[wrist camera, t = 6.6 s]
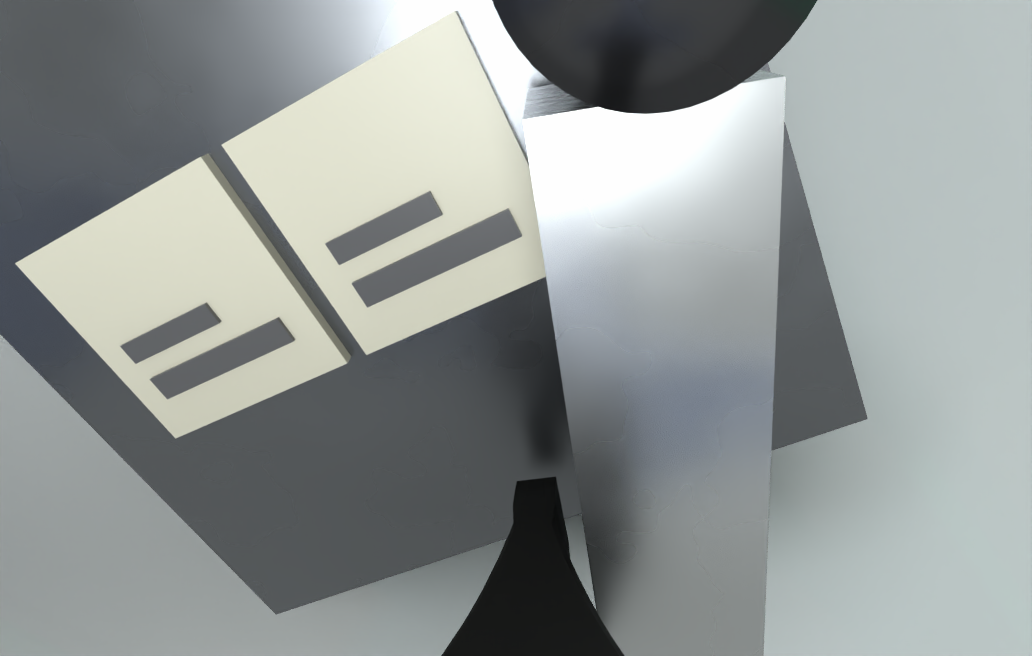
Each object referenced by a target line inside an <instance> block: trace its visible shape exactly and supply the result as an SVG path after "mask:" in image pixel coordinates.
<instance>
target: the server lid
mask: <svg viewBox="0 0 1032 656" xmlns="http://www.w3.org/2000/svg"><path fill="white" fill-rule="evenodd" d="M453 11H458V13H459V16H460V18H461V20H462V22H463V24H464V26H465V28H466V30H467V32H468V35H469V37H470V39H471V41H472V43H473V45H474V47H475V49H476V51H477V54H478V56H479V58H480V60H481V62H482V64H483V66H484V68H485V70H486V73H487V75H488V77H489V79H490V81H491V83H492V85H493V87H494V89H495V91H496V94H497V96H498V98H499V100H500V102H501V104H502V106H503V108H504V110H505V113H506V115H507V117H508V119H509V121H510V123H511V125H512V127H513V129H514V132H515V134H516V136H517V138H518V140H519V142H520V144H521V146H522V148H523V150H524V153H525V155H526V157H527V159H528V154H527V147H526V140H525V134H524V127H523V121H522V119H523V114H524V108H525V102H526V97H527V91H528V89H529V88H535V87H541V86H547V85H552V84H553V83H551V82H550V81H548V80H547V79H546V78H545V77H544V76H543V75H542V74H541V73H540V72H539V71H537V70H536V69H535V68H534V67H533V66H532V65H531V64H530V62H529V61H528V60H527V59H526V58H525V56H524V55H523V54H522V53H521V52H520V51H519V49H518V48H517V46H516V45H515V43H514V42H513V40H512V39H511V37H510V36H509V34H508V33H507V31H506V29H505V28H504V26H503V23H502V21H501V19H500V17H499V15H498V13H497V11H496V9H495V7H494V4H493V1H492V0H0V334H1V335H2V336H3V337H4V338H5V339H6V340H7V341H8V342H9V343H10V344H11V345H12V346H13V347H14V349H15V350H16V351H17V352H18V353H19V354H20V355H21V356H22V357H23V358H24V359H25V360H26V361H27V362H28V363H29V364H30V365H31V366H32V367H33V368H34V369H35V370H36V371H37V372H38V373H39V374H40V375H41V376H42V377H43V378H44V379H45V380H46V381H47V382H48V383H49V384H50V385H51V386H52V387H53V388H54V389H55V390H56V391H57V392H58V393H59V394H60V395H61V396H62V397H63V398H64V399H65V400H66V401H67V402H68V403H69V404H70V405H71V406H72V407H73V408H74V410H75V411H76V412H77V413H78V414H79V415H80V416H81V417H82V418H83V419H84V420H85V421H86V422H87V423H88V424H89V425H90V426H91V427H92V428H93V429H94V430H95V431H96V432H97V433H98V434H99V435H100V436H101V437H102V438H103V439H104V440H105V441H106V442H107V443H108V444H109V445H110V446H111V447H112V448H113V449H114V450H115V451H116V452H117V453H118V454H119V455H120V456H121V457H122V458H123V459H124V460H125V461H126V462H127V463H128V464H129V465H130V466H131V467H132V468H133V469H134V470H135V472H136V473H137V474H138V475H139V476H140V477H141V478H142V479H143V480H144V481H145V482H146V483H147V484H148V485H149V486H150V487H151V488H152V489H153V490H154V491H155V492H156V493H157V494H158V495H159V496H160V497H161V498H162V499H163V500H164V501H165V502H166V503H167V504H168V505H169V506H170V507H171V508H172V509H173V510H174V511H175V512H176V513H177V514H178V515H179V516H180V517H181V518H182V519H183V520H184V521H185V522H186V523H187V524H188V525H189V526H190V527H191V528H192V529H193V530H194V531H195V533H196V534H197V535H198V536H199V537H200V538H201V539H202V540H203V541H204V542H205V543H206V544H207V545H208V546H209V547H210V548H211V549H212V550H213V551H214V552H215V553H216V554H217V555H218V556H219V557H220V558H221V559H222V560H223V561H224V562H225V563H226V564H227V565H228V566H229V567H230V568H231V569H232V570H233V571H234V572H235V573H236V574H237V575H238V576H239V577H240V578H241V579H242V580H243V581H244V582H245V583H246V584H247V585H248V586H249V587H250V588H251V589H252V590H253V591H254V592H255V594H256V595H257V596H258V597H259V598H260V599H261V600H262V601H263V602H264V603H265V604H266V605H267V606H268V607H269V608H270V609H271V610H272V611H273V612H274V613H275V614H279V613H282V612H285V611H288V610H291V609H294V608H297V607H300V606H303V605H306V604H309V603H312V602H315V601H318V600H321V599H324V598H327V597H330V596H333V595H336V594H339V593H342V592H345V591H348V590H351V589H354V588H357V587H360V586H363V585H367V584H370V583H373V582H376V581H379V580H382V579H385V578H388V577H391V576H394V575H397V574H400V573H403V572H406V571H409V570H412V569H415V568H418V567H421V566H424V565H427V564H430V563H433V562H436V561H439V560H442V559H445V558H448V557H451V556H454V555H457V554H460V553H463V552H466V551H469V550H472V549H475V548H478V547H481V546H484V545H487V544H491V543H494V542H497V541H500V540H503V539H506V538H507V537H508V535H509V532H510V530H511V528H512V525H513V500H514V493H515V487H516V482H517V481H522V480H530V479H539V478H547V477H556V480H557V485H558V490H559V495H560V500H561V505H562V511H563V516H564V519H566V518H569V517H572V516H575V515H578V514H581V513H582V511H581V504H580V498H579V491H578V484H577V478H576V471H575V465H574V458H573V451H572V445H571V438H570V432H569V425H568V418H567V412H566V405H565V398H564V392H563V385H562V379H561V372H560V365H559V359H558V352H557V346H556V339H555V332H554V326H553V319H552V312H551V306H550V299H549V293H548V286H547V279H546V277H544V278H542V279H539V280H537V281H535V282H532V283H530V284H528V285H526V286H523V287H521V288H519V289H516V290H514V291H512V292H510V293H507V294H505V295H503V296H500V297H498V298H496V299H494V300H491V301H489V302H487V303H484V304H482V305H480V306H478V307H475V308H473V309H471V310H468V311H466V312H464V313H462V314H459V315H457V316H455V317H452V318H450V319H448V320H446V321H443V322H441V323H439V324H436V325H434V326H432V327H430V328H427V329H425V330H423V331H420V332H418V333H416V334H414V335H411V336H409V337H407V338H404V339H402V340H400V341H398V342H395V343H393V344H391V345H388V346H386V347H384V348H382V349H379V350H377V351H375V352H372V353H370V354H368V355H366V354H365V352H364V351H363V349H362V348H361V347H360V345H359V344H358V342H357V341H356V339H355V338H354V336H353V335H352V333H351V332H350V331H349V329H348V328H347V326H346V325H345V323H344V322H343V320H342V319H341V318H340V316H339V315H338V313H337V312H336V310H335V309H334V307H333V306H332V305H331V303H330V302H329V300H328V299H327V297H326V296H325V294H324V293H323V291H322V290H321V289H320V287H319V286H318V284H317V283H316V281H315V280H314V278H313V277H312V276H311V274H310V273H309V271H308V270H307V268H306V267H305V265H304V264H303V263H302V261H301V260H300V258H299V257H298V255H297V254H296V252H295V251H294V249H293V248H292V247H291V245H290V244H289V242H288V241H287V239H286V238H285V236H284V235H283V234H282V232H281V231H280V229H279V228H278V226H277V225H276V223H275V222H274V220H273V219H272V218H271V216H270V215H269V213H268V212H267V210H266V209H265V207H264V206H263V205H262V203H261V202H260V200H259V199H258V197H257V196H256V194H255V193H254V192H253V190H252V189H251V187H250V186H249V184H248V183H247V181H246V180H245V178H244V177H243V176H242V174H241V173H240V171H239V170H238V168H237V167H236V165H235V164H234V163H233V161H232V160H231V158H230V157H229V155H228V154H227V152H226V151H225V150H224V148H223V147H222V144H224V143H225V142H227V141H229V140H230V139H232V138H234V137H236V136H237V135H239V134H241V133H243V132H244V131H246V130H248V129H250V128H251V127H253V126H255V125H257V124H258V123H260V122H262V121H264V120H265V119H267V118H269V117H271V116H272V115H274V114H276V113H278V112H279V111H281V110H283V109H284V108H286V107H288V106H290V105H291V104H293V103H295V102H297V101H298V100H300V99H302V98H304V97H305V96H307V95H309V94H311V93H312V92H314V91H316V90H318V89H319V88H321V87H323V86H325V85H326V84H328V83H330V82H332V81H333V80H335V79H337V78H338V77H340V76H342V75H344V74H345V73H347V72H349V71H351V70H352V69H354V68H356V67H358V66H359V65H361V64H363V63H365V62H366V61H368V60H370V59H372V58H373V57H375V56H377V55H379V54H380V53H382V52H384V51H385V50H387V49H389V48H391V47H392V46H394V45H396V44H398V43H399V42H401V41H403V40H405V39H406V38H408V37H410V36H412V35H413V34H415V33H417V32H419V31H420V30H422V29H424V28H426V27H427V26H429V25H431V24H433V23H434V22H436V21H438V20H439V19H441V18H443V17H445V16H446V15H448V14H450V13H452V12H453ZM759 70H763V71H767V72H770V69H769V65H768V63H766V64H765V65H764V66H763V67H762V68H761V69H759ZM206 154H209V155H210V157H211V158H212V159H213V161H214V162H215V164H216V165H217V166H218V168H219V169H220V171H221V172H222V174H223V175H224V176H225V178H226V179H227V181H228V182H229V183H230V185H231V186H232V188H233V189H234V191H235V192H236V193H237V195H238V196H239V198H240V199H241V201H242V202H243V203H244V205H245V206H246V208H247V209H248V210H249V212H250V213H251V215H252V216H253V218H254V219H255V220H256V222H257V223H258V225H259V226H260V228H261V229H262V230H263V232H264V233H265V235H266V236H267V237H268V239H269V240H270V242H271V243H272V245H273V246H274V247H275V249H276V250H277V252H278V253H279V255H280V256H281V257H282V259H283V260H284V262H285V263H286V264H287V266H288V267H289V269H290V270H291V272H292V273H293V274H294V276H295V277H296V279H297V280H298V281H299V283H300V284H301V286H302V287H303V289H304V290H305V291H306V293H307V294H308V296H309V297H310V299H311V300H312V301H313V303H314V304H315V306H316V307H317V308H318V310H319V311H320V313H321V314H322V316H323V317H324V318H325V320H326V321H327V323H328V324H329V326H330V327H331V328H332V330H333V331H334V333H335V334H336V335H337V337H338V338H339V340H340V341H341V343H342V344H343V345H344V347H345V348H346V350H347V351H348V353H349V354H350V355H351V358H350V360H349V362H348V363H347V364H345V365H343V366H340V367H338V368H336V369H334V370H331V371H329V372H327V373H324V374H322V375H320V376H318V377H315V378H313V379H311V380H308V381H306V382H304V383H302V384H299V385H297V386H295V387H292V388H290V389H288V390H286V391H283V392H281V393H279V394H276V395H274V396H272V397H270V398H267V399H265V400H263V401H260V402H258V403H256V404H254V405H251V406H249V407H247V408H244V409H242V410H240V411H238V412H235V413H233V414H231V415H228V416H226V417H224V418H222V419H219V420H217V421H215V422H212V423H210V424H208V425H206V426H203V427H201V428H199V429H196V430H194V431H192V432H190V433H187V434H185V435H183V436H180V437H178V438H176V439H175V437H174V436H173V435H172V434H171V433H170V432H169V431H168V430H167V429H166V428H165V427H164V425H163V424H162V423H161V422H160V421H159V420H158V419H157V418H156V417H155V416H154V415H153V413H152V412H151V411H150V410H149V409H148V408H147V407H146V406H145V405H144V404H143V403H142V401H141V400H140V399H139V398H138V397H137V396H136V395H135V394H134V393H133V392H132V391H131V390H130V388H129V387H128V386H127V385H126V384H125V383H124V382H123V381H122V380H121V379H120V378H119V376H118V375H117V374H116V373H115V372H114V371H113V370H112V369H111V368H110V367H109V366H108V364H107V363H106V362H105V361H104V360H103V359H102V358H101V357H100V356H99V355H98V354H97V352H96V351H95V350H94V349H93V348H92V347H91V346H90V345H89V344H88V343H87V342H86V340H85V339H84V338H83V337H82V336H81V335H80V334H79V333H78V332H77V331H76V330H75V328H74V327H73V326H72V325H71V324H70V323H69V322H68V321H67V320H66V319H65V318H64V316H63V315H62V314H61V313H60V312H59V311H58V310H57V309H56V308H55V307H54V306H53V304H52V303H51V302H50V301H49V300H48V299H47V298H46V297H45V296H44V295H43V294H42V293H41V291H40V290H39V289H38V288H37V287H36V286H35V285H34V284H33V283H32V282H31V281H30V279H29V278H28V277H27V276H26V275H25V274H24V273H23V272H22V271H21V270H20V269H19V267H18V266H17V265H16V264H15V263H16V262H18V261H20V260H22V259H23V258H25V257H27V256H28V255H30V254H32V253H34V252H35V251H37V250H39V249H41V248H42V247H44V246H46V245H48V244H49V243H51V242H53V241H55V240H56V239H58V238H60V237H62V236H63V235H65V234H67V233H69V232H70V231H72V230H74V229H76V228H77V227H79V226H81V225H82V224H84V223H86V222H88V221H89V220H91V219H93V218H95V217H96V216H98V215H100V214H102V213H103V212H105V211H107V210H109V209H110V208H112V207H114V206H116V205H117V204H119V203H121V202H123V201H124V200H126V199H128V198H129V197H131V196H133V195H135V194H136V193H138V192H140V191H142V190H143V189H145V188H147V187H149V186H150V185H152V184H154V183H156V182H157V181H159V180H161V179H163V178H164V177H166V176H168V175H170V174H171V173H173V172H175V171H177V170H178V169H180V168H182V167H183V166H185V165H187V164H189V163H190V162H192V161H194V160H196V159H197V158H199V157H201V156H203V155H206ZM528 161H529V160H528ZM866 419H867V415H866V411H865V408H864V404H863V401H862V397H861V394H860V390H859V386H858V383H857V379H856V376H855V372H854V369H853V365H852V361H851V358H850V354H849V351H848V347H847V344H846V340H845V336H844V333H843V329H842V326H841V322H840V319H839V315H838V311H837V308H836V304H835V301H834V297H833V294H832V290H831V286H830V283H829V279H828V276H827V272H826V269H825V265H824V261H823V258H822V254H821V251H820V247H819V244H818V240H817V236H816V233H815V229H814V226H813V222H812V219H811V215H810V211H809V208H808V204H807V201H806V197H805V194H804V190H803V186H802V183H801V179H800V176H799V172H798V169H797V165H796V161H795V158H794V154H793V151H792V147H791V144H790V140H789V136H788V133H787V129H786V126H785V122H784V139H783V165H782V190H781V216H780V242H779V267H778V293H777V318H776V344H775V370H774V395H773V421H772V446H771V451H772V450H775V449H778V448H781V447H784V446H787V445H790V444H793V443H796V442H799V441H802V440H805V439H808V438H811V437H814V436H817V435H820V434H823V433H826V432H829V431H832V430H835V429H838V428H841V427H844V426H847V425H850V424H853V423H856V422H859V421H862V420H866Z"/></svg>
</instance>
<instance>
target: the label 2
mask: <svg viewBox="0 0 1032 656" xmlns="http://www.w3.org/2000/svg"><path fill="white" fill-rule="evenodd" d="M222 147H223V148H224V150H225V151H226V152H227V154H228V155H229V157H230V158H231V160H232V161H233V163H234V164H235V165H236V167H237V168H238V170H239V171H240V173H241V174H242V176H243V177H244V178H245V180H246V181H247V183H248V184H249V186H250V187H251V189H252V190H253V192H254V193H255V194H256V196H257V197H258V199H259V200H260V202H261V203H262V205H263V206H264V207H265V209H266V210H267V212H268V213H269V215H270V216H271V218H272V219H273V220H274V222H275V223H276V225H277V226H278V228H279V229H280V231H281V232H282V234H283V235H284V236H285V238H286V239H287V241H288V242H289V244H290V245H291V247H292V248H293V249H294V251H295V252H296V254H297V255H298V257H299V258H300V260H301V261H302V263H303V264H304V265H305V267H306V268H307V270H308V271H309V273H310V274H311V276H312V277H313V278H314V280H315V281H316V283H317V284H318V286H319V287H320V289H321V290H322V291H323V293H324V294H325V296H326V297H327V299H328V300H329V302H330V303H331V305H332V306H333V307H334V309H335V310H336V312H337V313H338V315H339V316H340V318H341V319H342V320H343V322H344V323H345V325H346V326H347V328H348V329H349V331H350V332H351V333H352V335H353V336H354V338H355V339H356V341H357V342H358V344H359V345H360V347H361V348H362V349H363V351H364V352H365V354H366V355H368V354H370V353H372V352H375V351H377V350H379V349H382V348H384V347H386V346H388V345H391V344H393V343H395V342H398V341H400V340H402V339H404V338H407V337H409V336H411V335H414V334H416V333H418V332H420V331H423V330H425V329H427V328H430V327H432V326H434V325H436V324H439V323H441V322H443V321H446V320H448V319H450V318H452V317H455V316H457V315H459V314H462V313H464V312H466V311H468V310H471V309H473V308H475V307H478V306H480V305H482V304H484V303H487V302H489V301H491V300H494V299H496V298H498V297H500V296H503V295H505V294H507V293H510V292H512V291H514V290H516V289H519V288H521V287H523V286H526V285H528V284H530V283H532V282H535V281H537V280H539V279H542V278H544V277H546V273H545V266H544V260H543V253H542V246H541V240H540V233H539V226H538V220H537V213H536V207H535V200H534V193H533V187H532V180H531V173H530V167H529V161H528V159H527V157H526V155H525V153H524V150H523V148H522V146H521V144H520V142H519V140H518V138H517V136H516V134H515V132H514V129H513V127H512V125H511V123H510V121H509V119H508V117H507V115H506V113H505V110H504V108H503V106H502V104H501V102H500V100H499V98H498V96H497V94H496V91H495V89H494V87H493V85H492V83H491V81H490V79H489V77H488V75H487V73H486V70H485V68H484V66H483V64H482V62H481V60H480V58H479V56H478V54H477V51H476V49H475V47H474V45H473V43H472V41H471V39H470V37H469V35H468V32H467V30H466V28H465V26H464V24H463V22H462V20H461V18H460V16H459V13H458V11H453V12H452V13H450V14H448V15H446V16H445V17H443V18H441V19H439V20H438V21H436V22H434V23H433V24H431V25H429V26H427V27H426V28H424V29H422V30H420V31H419V32H417V33H415V34H413V35H412V36H410V37H408V38H406V39H405V40H403V41H401V42H399V43H398V44H396V45H394V46H392V47H391V48H389V49H387V50H385V51H384V52H382V53H380V54H379V55H377V56H375V57H373V58H372V59H370V60H368V61H366V62H365V63H363V64H361V65H359V66H358V67H356V68H354V69H352V70H351V71H349V72H347V73H345V74H344V75H342V76H340V77H338V78H337V79H335V80H333V81H332V82H330V83H328V84H326V85H325V86H323V87H321V88H319V89H318V90H316V91H314V92H312V93H311V94H309V95H307V96H305V97H304V98H302V99H300V100H298V101H297V102H295V103H293V104H291V105H290V106H288V107H286V108H284V109H283V110H281V111H279V112H278V113H276V114H274V115H272V116H271V117H269V118H267V119H265V120H264V121H262V122H260V123H258V124H257V125H255V126H253V127H251V128H250V129H248V130H246V131H244V132H243V133H241V134H239V135H237V136H236V137H234V138H232V139H230V140H229V141H227V142H225V143H224V144H222Z"/></svg>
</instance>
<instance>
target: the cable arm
mask: <svg viewBox="0 0 1032 656" xmlns="http://www.w3.org/2000/svg"><path fill="white" fill-rule="evenodd" d="M492 1H493V4H494V7H495V9H496V11H497V13H498V15H499V17H500V19H501V21H502V23H503V26H504V28H505V29H506V31H507V33H508V34H509V36H510V37H511V39H512V40H513V42H514V43H515V45H516V46H517V48H518V49H519V51H520V52H521V53H522V54H523V55H524V56H525V58H526V59H527V60H528V61H529V62H530V64H531V65H532V66H533V67H534V68H535V69H536V70H537V71H539V72H540V73H541V74H542V75H543V76H544V77H545V78H546V79H547V80H548V81H550V82H551V83H553V84H552V85H547V86H541V87H535V88H529V89H528V91H527V97H526V102H525V108H524V114H523V119H522V121H523V127H524V134H525V140H526V147H527V154H528V160H529V167H530V173H531V180H532V187H533V193H534V200H535V207H536V213H537V220H538V226H539V233H540V240H541V246H542V253H543V260H544V266H545V273H546V279H547V286H548V293H549V299H550V306H551V312H552V319H553V326H554V332H555V339H556V346H557V352H558V359H559V365H560V372H561V379H562V385H563V392H564V398H565V405H566V412H567V418H568V425H569V432H570V438H571V445H572V451H573V458H574V465H575V471H576V478H577V484H578V491H579V498H580V504H581V511H582V518H583V524H584V531H585V537H586V544H587V551H588V557H589V564H590V570H591V577H592V584H593V590H594V597H595V604H596V610H597V613H598V615H599V617H600V618H601V620H602V622H603V623H604V625H605V626H606V628H607V630H608V631H609V633H610V635H611V636H612V638H613V639H614V641H615V642H616V644H617V645H618V647H619V648H620V650H621V651H622V653H623V654H624V656H763V651H764V626H765V600H766V574H767V549H768V523H769V498H770V472H771V446H772V421H773V395H774V370H775V344H776V318H777V293H778V267H779V242H780V216H781V190H782V165H783V139H784V114H785V88H786V76H783V75H779V74H775V73H771V72H767V71H763V70H759V69H761V68H762V67H763V66H764V65H765V64H766V63H768V62H769V61H770V60H771V59H772V58H773V57H774V56H775V55H776V54H777V53H778V52H779V51H780V50H781V49H782V48H783V47H784V46H785V44H786V43H787V42H788V41H789V40H790V39H791V38H792V36H793V35H794V34H795V32H796V31H797V30H798V29H799V27H800V26H801V25H802V23H803V22H804V21H805V19H806V18H807V16H808V15H809V13H810V11H811V10H812V8H813V6H814V5H815V3H816V1H817V0H492Z"/></svg>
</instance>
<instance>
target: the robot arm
mask: <svg viewBox="0 0 1032 656" xmlns="http://www.w3.org/2000/svg"><path fill="white" fill-rule="evenodd" d="M442 656H624V654H623V653H622V651H621V650H620V648H619V647H618V645H617V644H616V642H615V641H614V639H613V638H612V636H611V635H610V633H609V631H608V630H607V628H606V626H605V625H604V623H603V622H602V620H601V618H600V617H599V615H598V613H597V611H596V609H595V608H594V606H593V604H592V602H591V601H590V599H589V597H588V595H587V593H586V591H585V589H584V587H583V585H582V583H581V581H580V579H579V577H578V575H577V573H576V571H575V569H574V567H573V565H572V562H571V560H570V553H569V542H568V537H567V531H566V526H565V521H564V516H563V511H562V505H561V500H560V495H559V490H558V485H557V480H556V477H547V478H539V479H530V480H522V481H517V482H516V487H515V493H514V500H513V525H512V528H511V530H510V532H509V535H508V537H507V539H506V542H505V544H504V547H503V549H502V551H501V554H500V556H499V558H498V560H497V562H496V564H495V566H494V568H493V570H492V572H491V574H490V576H489V578H488V580H487V582H486V584H485V586H484V588H483V590H482V592H481V594H480V596H479V597H478V599H477V601H476V603H475V604H474V606H473V608H472V610H471V611H470V613H469V615H468V616H467V618H466V619H465V621H464V623H463V624H462V626H461V628H460V629H459V631H458V632H457V634H456V635H455V636H454V638H453V639H452V641H451V642H450V644H449V645H448V647H447V648H446V650H445V651H444V653H443V654H442Z"/></svg>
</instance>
